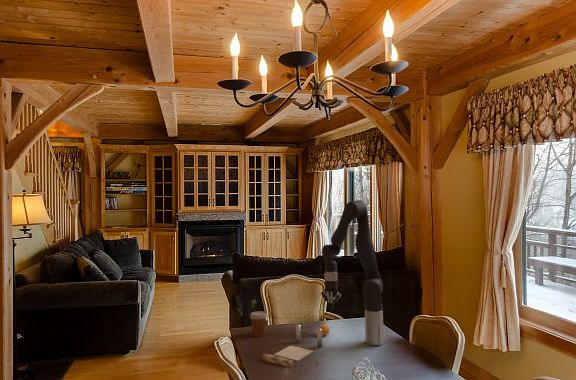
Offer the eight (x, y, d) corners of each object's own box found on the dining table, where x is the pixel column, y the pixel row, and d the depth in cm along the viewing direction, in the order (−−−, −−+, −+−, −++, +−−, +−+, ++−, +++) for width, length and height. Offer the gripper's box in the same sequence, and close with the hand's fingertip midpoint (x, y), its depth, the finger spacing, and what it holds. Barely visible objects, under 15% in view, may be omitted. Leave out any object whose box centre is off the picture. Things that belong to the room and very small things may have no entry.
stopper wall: (292, 365, 187) (292, 360, 187) (290, 367, 185) (290, 361, 185) (265, 358, 196) (265, 353, 196) (262, 359, 194) (262, 354, 194)
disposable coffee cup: (268, 332, 234) (267, 311, 235) (265, 337, 225) (265, 315, 225) (252, 331, 235) (251, 310, 236) (248, 337, 226) (248, 315, 226)
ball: (331, 334, 227) (331, 323, 228) (326, 337, 223) (325, 326, 223) (322, 332, 231) (321, 322, 231) (316, 336, 226) (316, 325, 226)
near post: (323, 346, 210) (322, 328, 210) (320, 347, 208) (320, 330, 208) (318, 345, 212) (318, 327, 212) (316, 346, 210) (315, 329, 210)
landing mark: (313, 351, 204) (313, 350, 204) (298, 360, 192) (298, 360, 192) (290, 345, 212) (290, 345, 212) (274, 354, 200) (274, 354, 200)
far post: (301, 341, 218) (301, 324, 218) (299, 343, 215) (298, 326, 216) (297, 340, 219) (297, 323, 219) (295, 342, 217) (294, 325, 217)
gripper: (317, 279, 235) (318, 309, 235) (338, 281, 228) (338, 312, 228) (324, 276, 242) (324, 306, 241) (344, 279, 234) (344, 309, 234)
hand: (331, 309), depth 235 cm, fingers closed
